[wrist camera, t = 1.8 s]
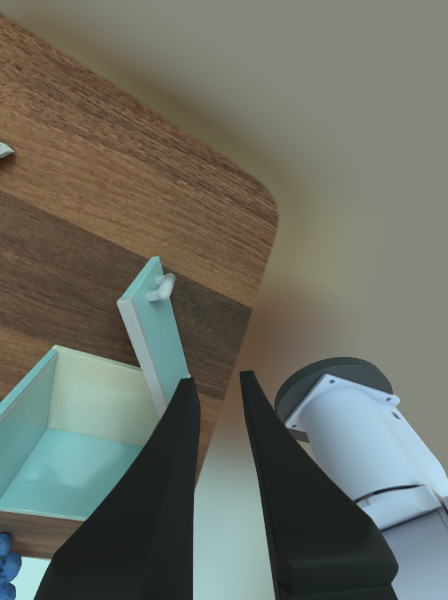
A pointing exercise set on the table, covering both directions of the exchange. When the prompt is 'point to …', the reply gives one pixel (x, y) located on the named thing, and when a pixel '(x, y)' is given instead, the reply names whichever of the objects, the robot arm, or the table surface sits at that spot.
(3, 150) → the necklace
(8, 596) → the grapes
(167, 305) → the turquoise cabinet door
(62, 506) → the turquoise open box
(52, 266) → the table surface
